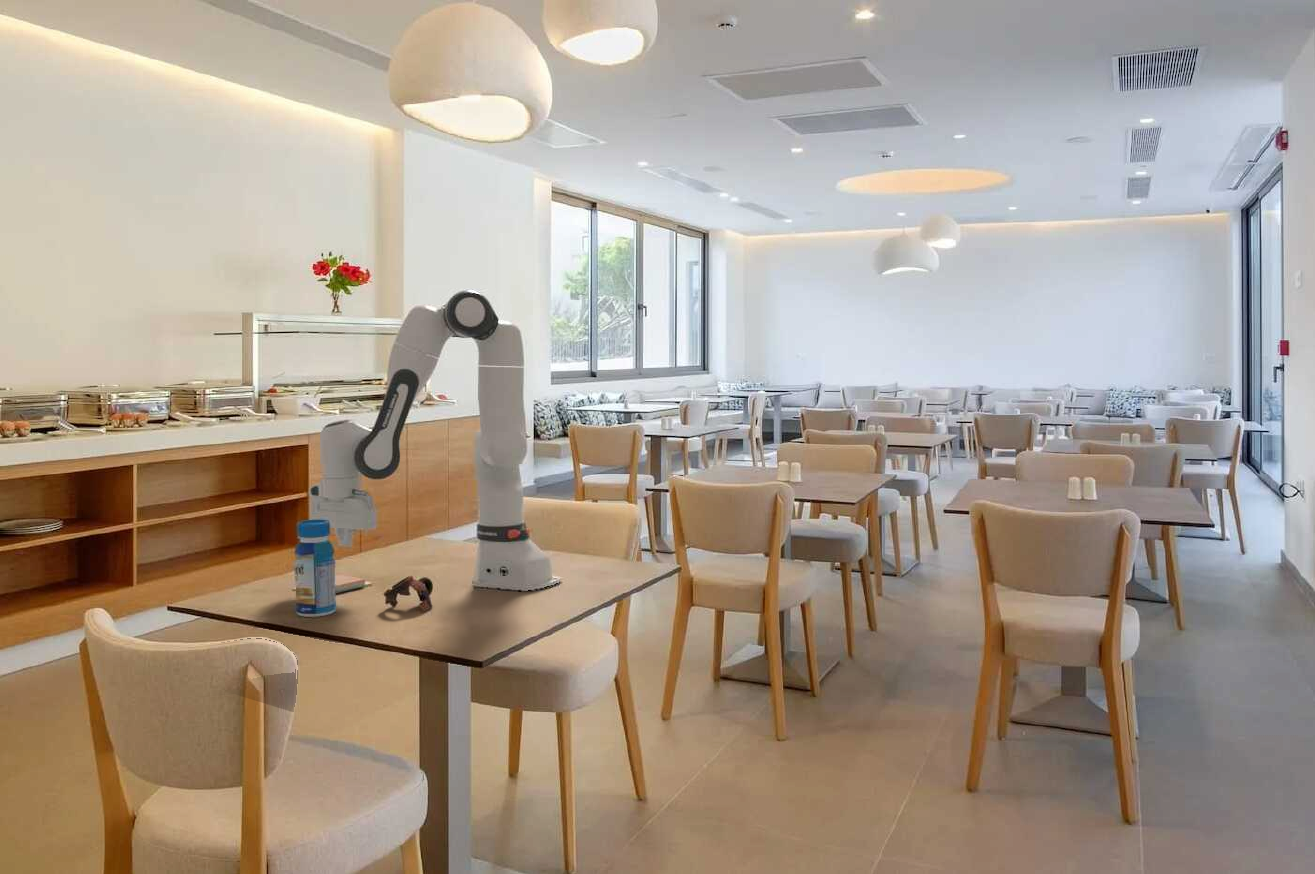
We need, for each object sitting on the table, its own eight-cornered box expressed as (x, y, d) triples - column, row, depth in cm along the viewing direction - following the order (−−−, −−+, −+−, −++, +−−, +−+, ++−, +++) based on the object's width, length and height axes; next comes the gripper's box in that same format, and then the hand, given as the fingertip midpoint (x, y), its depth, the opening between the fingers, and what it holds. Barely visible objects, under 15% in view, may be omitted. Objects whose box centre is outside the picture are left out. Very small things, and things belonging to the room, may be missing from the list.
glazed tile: (364, 579, 238) (340, 574, 243) (337, 585, 231) (313, 580, 236) (365, 585, 238) (340, 581, 243) (337, 592, 232) (313, 587, 236)
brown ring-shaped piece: (419, 618, 211) (398, 586, 210) (391, 632, 216) (370, 600, 215) (451, 592, 222) (431, 561, 221) (423, 606, 226) (403, 576, 226)
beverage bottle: (336, 616, 211) (333, 523, 210) (294, 619, 209) (291, 525, 207) (337, 606, 219) (334, 517, 218) (296, 609, 217) (293, 519, 215)
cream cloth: (372, 584, 241) (372, 582, 241) (325, 595, 229) (324, 594, 229) (340, 578, 248) (340, 577, 248) (292, 589, 236) (292, 587, 236)
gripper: (381, 489, 231) (385, 547, 233) (325, 484, 243) (329, 540, 244) (360, 492, 226) (363, 552, 227) (303, 488, 238) (307, 544, 239)
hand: (345, 546), depth 236 cm, fingers closed
